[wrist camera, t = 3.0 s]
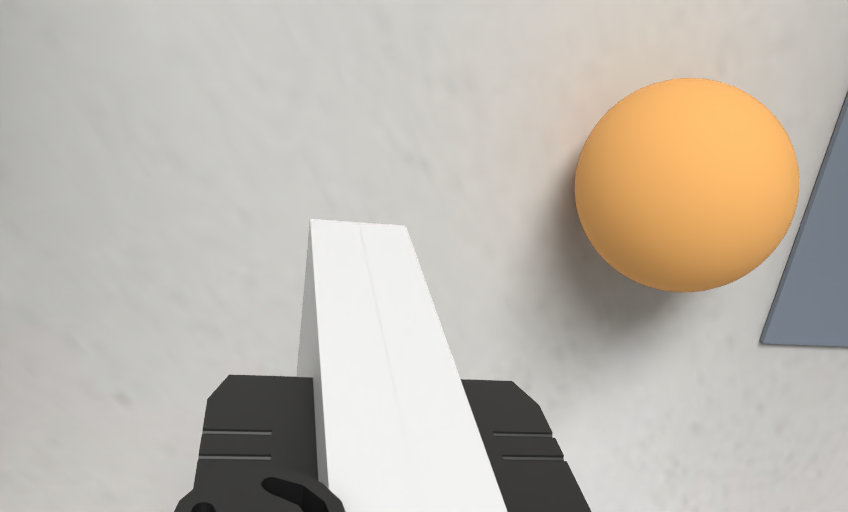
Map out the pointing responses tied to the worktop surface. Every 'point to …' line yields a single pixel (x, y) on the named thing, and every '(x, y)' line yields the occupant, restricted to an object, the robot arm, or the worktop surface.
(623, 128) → the ball
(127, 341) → the worktop surface
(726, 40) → the worktop surface
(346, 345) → the robot arm
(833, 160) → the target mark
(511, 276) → the worktop surface
